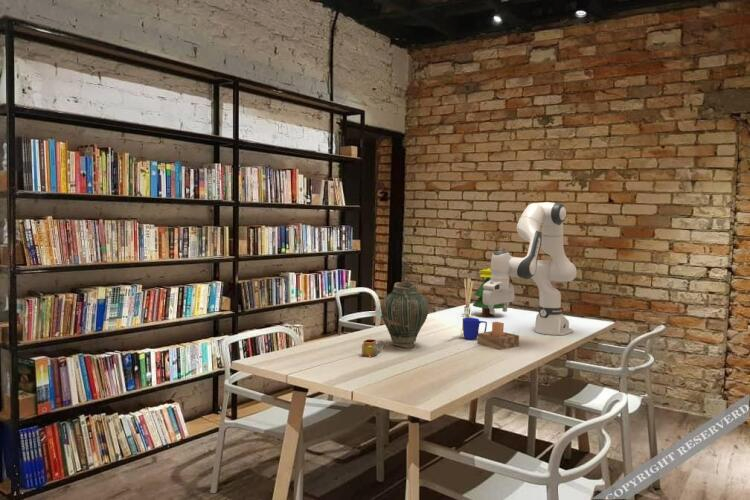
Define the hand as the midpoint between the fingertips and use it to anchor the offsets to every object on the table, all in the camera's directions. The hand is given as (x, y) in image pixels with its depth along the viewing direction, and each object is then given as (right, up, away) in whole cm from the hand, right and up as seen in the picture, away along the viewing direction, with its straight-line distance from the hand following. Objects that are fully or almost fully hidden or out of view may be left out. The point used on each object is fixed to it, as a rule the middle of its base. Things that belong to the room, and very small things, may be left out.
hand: (498, 312), depth 273 cm
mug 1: (-60, -16, -23) cm, 67 cm away
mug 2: (-10, -15, +13) cm, 22 cm away
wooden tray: (0, -16, +1) cm, 16 cm away
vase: (-46, -15, -6) cm, 49 cm away
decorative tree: (+11, -11, +78) cm, 80 cm away
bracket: (0, -16, +1) cm, 16 cm away
